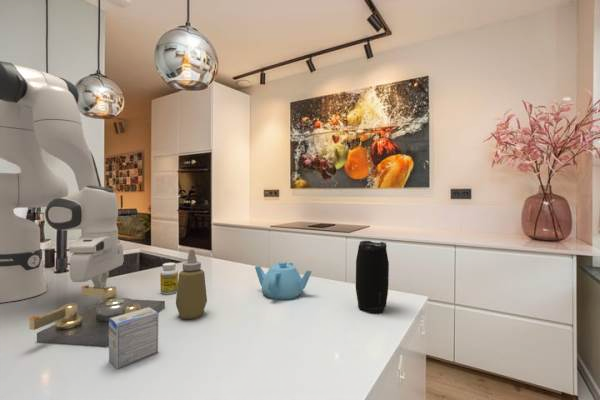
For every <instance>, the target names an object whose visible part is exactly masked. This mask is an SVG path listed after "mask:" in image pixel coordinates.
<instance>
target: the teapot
mask: <svg viewBox="0 0 600 400" xmlns="http://www.w3.org/2000/svg"><path fill="white" fill-rule="evenodd" d="M261 267H262V266H260V265H258V266H257V265H256V266H254V269H255V273H256V275H257V278H258V281H259V284H260V287H261V291H262V293H263V294H264V295H265V296H266V297H267V298H269V299H273V300H279V301H280V300H282V301H283V300H292V299H296V298H298V297H299V296H300V295H301V293H302V292H303V290H304V289H305V288H306V286H307V284H308V282H309V279H310V277H311V274H312V272H313V271H312V270H307V269H306V271H305V273H304V274H303V276H301V275H300V273H299V271H298V270H297V268H296V266H294V262H287V261H279V262H278V264H275V265H271V266H270V267H269V268H268V270H267V272H266V273H265V271H263V269H262V268H261Z"/></svg>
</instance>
